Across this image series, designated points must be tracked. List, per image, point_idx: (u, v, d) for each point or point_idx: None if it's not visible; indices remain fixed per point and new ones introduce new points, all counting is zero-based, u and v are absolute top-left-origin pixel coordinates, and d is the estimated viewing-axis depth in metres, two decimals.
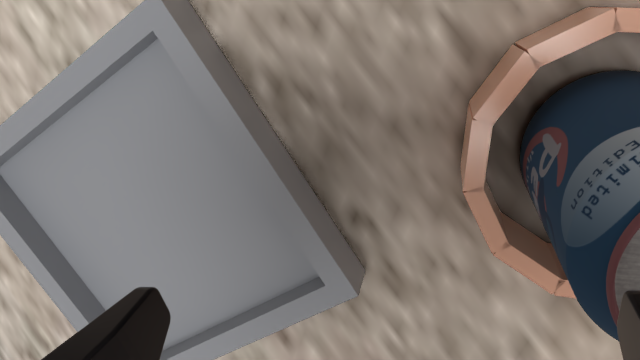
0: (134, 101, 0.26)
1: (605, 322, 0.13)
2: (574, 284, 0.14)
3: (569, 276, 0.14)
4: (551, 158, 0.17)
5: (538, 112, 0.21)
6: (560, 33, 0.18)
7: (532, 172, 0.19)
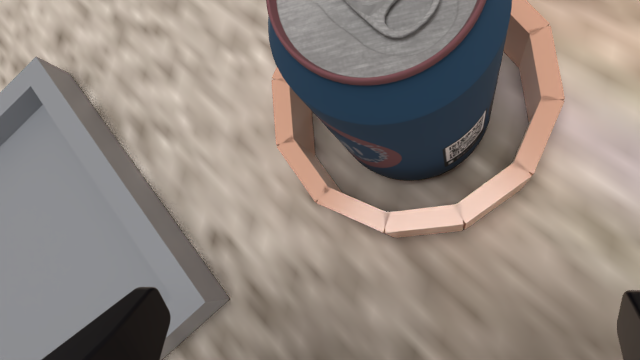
0: (17, 162, 0.28)
1: (302, 80, 0.13)
2: (280, 68, 0.14)
3: (277, 66, 0.14)
4: None
5: None
6: None
7: None
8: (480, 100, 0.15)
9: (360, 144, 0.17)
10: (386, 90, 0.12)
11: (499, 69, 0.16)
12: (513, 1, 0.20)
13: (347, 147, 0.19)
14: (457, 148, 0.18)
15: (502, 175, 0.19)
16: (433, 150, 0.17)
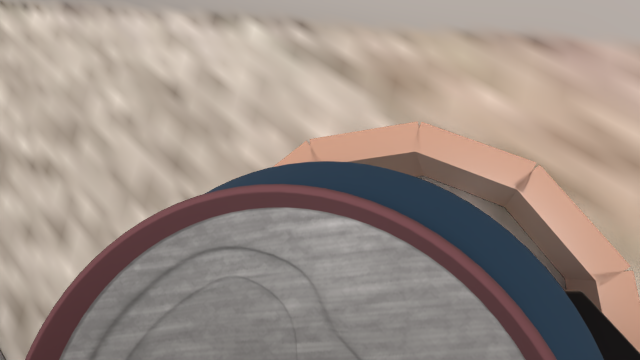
0: None
1: None
2: None
3: None
4: None
5: None
6: None
7: None
8: None
9: None
10: None
11: None
12: (566, 218, 0.12)
13: None
14: None
15: None
16: None
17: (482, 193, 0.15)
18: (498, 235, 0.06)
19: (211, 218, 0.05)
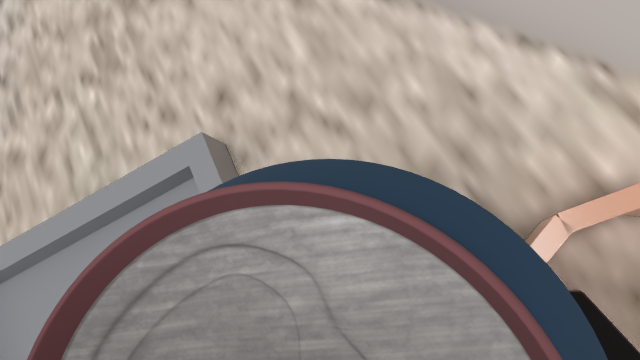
0: None
1: None
2: None
3: None
4: None
5: None
6: (590, 201, 0.18)
7: None
8: None
9: None
10: None
11: None
12: None
13: None
14: None
15: None
16: None
17: None
18: (501, 233, 0.06)
19: (214, 215, 0.05)
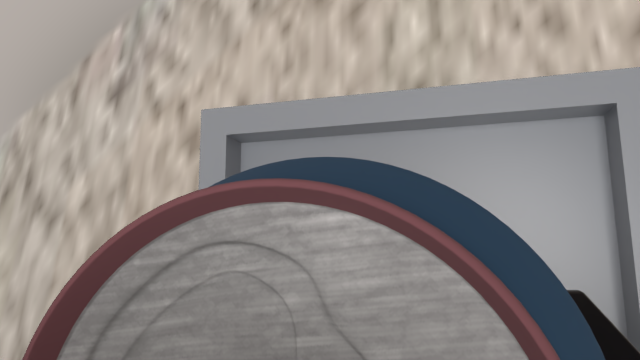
0: (494, 166, 0.19)
1: None
2: None
3: None
4: None
5: None
6: None
7: None
8: None
9: None
10: None
11: None
12: None
13: None
14: None
15: None
16: None
17: None
18: (498, 230, 0.06)
19: (211, 212, 0.05)
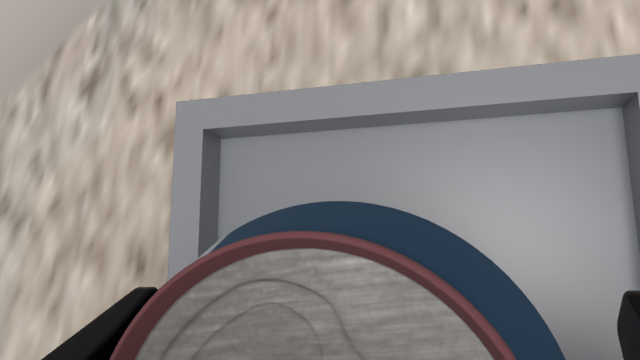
0: (498, 164, 0.17)
1: None
2: None
3: None
4: None
5: None
6: None
7: None
8: None
9: None
10: None
11: None
12: None
13: None
14: None
15: None
16: None
17: None
18: (483, 266, 0.07)
19: (252, 256, 0.07)
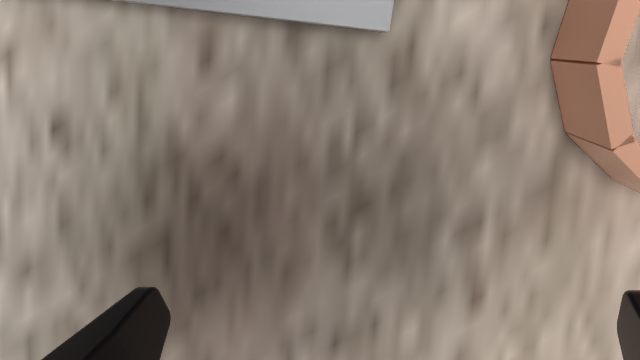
0: None
1: None
2: None
3: None
4: None
5: None
6: None
7: None
8: None
9: None
10: None
11: None
12: None
13: None
14: None
15: None
16: None
17: None
18: None
19: None
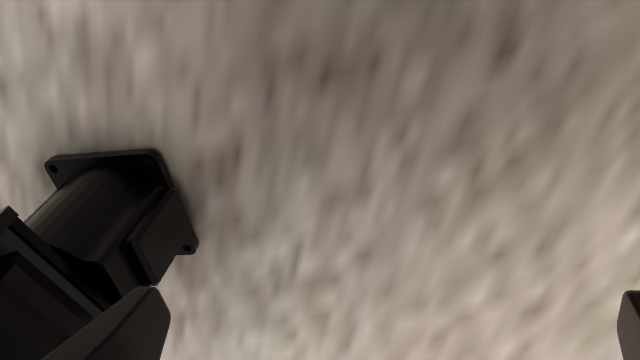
0: None
1: None
2: None
3: None
4: None
5: None
6: None
7: None
8: None
9: None
10: None
11: None
12: None
13: None
14: None
15: None
16: None
17: None
18: None
19: None
